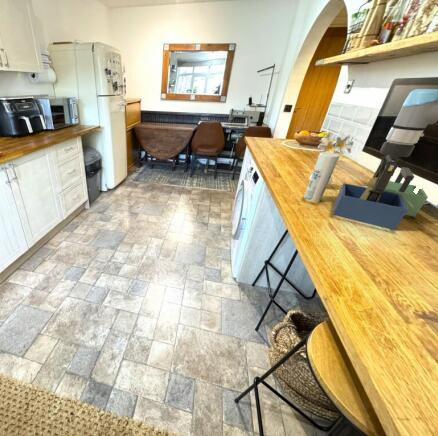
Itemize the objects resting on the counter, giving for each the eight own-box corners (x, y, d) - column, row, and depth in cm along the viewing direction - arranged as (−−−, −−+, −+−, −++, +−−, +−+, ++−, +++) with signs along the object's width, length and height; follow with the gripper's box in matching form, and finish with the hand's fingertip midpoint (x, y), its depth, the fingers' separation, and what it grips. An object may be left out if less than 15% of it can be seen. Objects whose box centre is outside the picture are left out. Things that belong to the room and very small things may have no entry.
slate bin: (388, 214, 93) (401, 194, 88) (393, 232, 82) (407, 209, 78) (334, 202, 102) (343, 183, 97) (332, 216, 91) (342, 195, 87)
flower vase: (301, 189, 114) (320, 134, 101) (305, 178, 127) (324, 128, 114) (333, 196, 107) (359, 139, 94) (335, 184, 120) (358, 132, 107)
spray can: (300, 196, 107) (317, 151, 97) (316, 197, 106) (334, 152, 96) (306, 202, 101) (324, 155, 91) (322, 204, 100) (343, 157, 90)
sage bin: (408, 206, 99) (430, 171, 91) (413, 218, 90) (439, 180, 83) (364, 197, 106) (382, 164, 99) (365, 207, 98) (384, 171, 90)
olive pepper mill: (359, 208, 88) (373, 180, 83) (353, 201, 93) (366, 174, 88) (378, 211, 87) (395, 182, 81) (371, 204, 91) (386, 176, 86)
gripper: (421, 150, 69) (381, 218, 81) (410, 139, 83) (377, 199, 94) (387, 146, 73) (353, 211, 85) (382, 136, 87) (353, 194, 98)
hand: (366, 205), depth 90 cm, fingers closed on olive pepper mill, 6 cm apart
